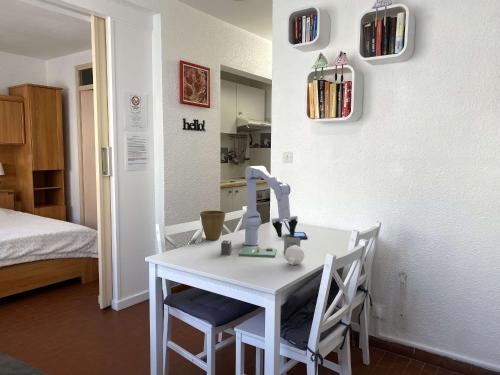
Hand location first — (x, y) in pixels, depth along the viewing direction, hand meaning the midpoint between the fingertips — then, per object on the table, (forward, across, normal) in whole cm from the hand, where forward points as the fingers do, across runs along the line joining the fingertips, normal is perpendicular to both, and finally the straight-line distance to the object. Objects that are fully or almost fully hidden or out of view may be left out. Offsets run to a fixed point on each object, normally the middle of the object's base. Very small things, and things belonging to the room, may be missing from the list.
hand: (286, 236), depth 188 cm
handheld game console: (+5, +32, +34) cm, 48 cm away
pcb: (+8, -8, +15) cm, 19 cm away
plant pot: (+2, -13, +54) cm, 56 cm away
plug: (+7, -22, +23) cm, 32 cm away
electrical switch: (+10, +7, +6) cm, 14 cm away
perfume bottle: (+12, -5, -9) cm, 16 cm away
